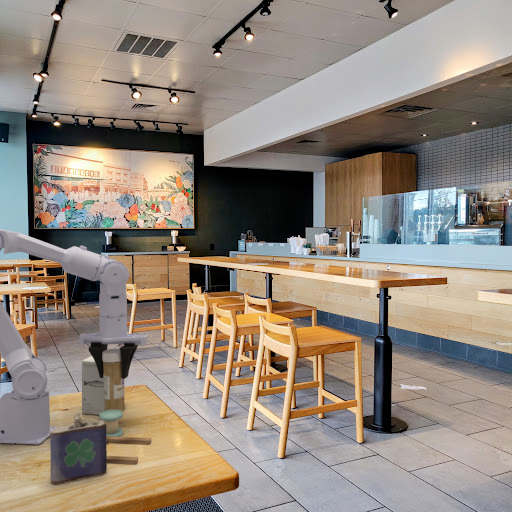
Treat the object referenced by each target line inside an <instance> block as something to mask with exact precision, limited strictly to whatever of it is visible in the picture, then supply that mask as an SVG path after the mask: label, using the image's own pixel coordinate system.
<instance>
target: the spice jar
mask: <svg viewBox="0 0 512 512" xmlns="http://www.w3.org/2000/svg"><path fill="white" fill-rule="evenodd" d="M102 360H103V370H104V374H103V381H104V398H105V409H104V411H106V410H112V409H116V410H121V411H122V412H124V411H126V405H125V403H126V402H125V395H126V394H125V392H126V391H125V390H126V389H125V379H122V360H121V354H120V348H109V349H108V348H107V350H105V351H103V352H102Z"/></svg>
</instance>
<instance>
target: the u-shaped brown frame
mask: <svg viewBox="0 0 512 512" xmlns="http://www.w3.org/2000/svg"><path fill="white" fill-rule="evenodd" d="M106 442H107V443H106V446H108V444H127V445H128V444H130V445H131V444H132V445H151V443H152V437H132V436H120V437H112V436H106ZM138 462H139V457H138V456H123V455H122V456H121V455H120V456H119V455H107V464H114V465H115V464H118V465H120V464H121V465H137V463H138Z"/></svg>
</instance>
